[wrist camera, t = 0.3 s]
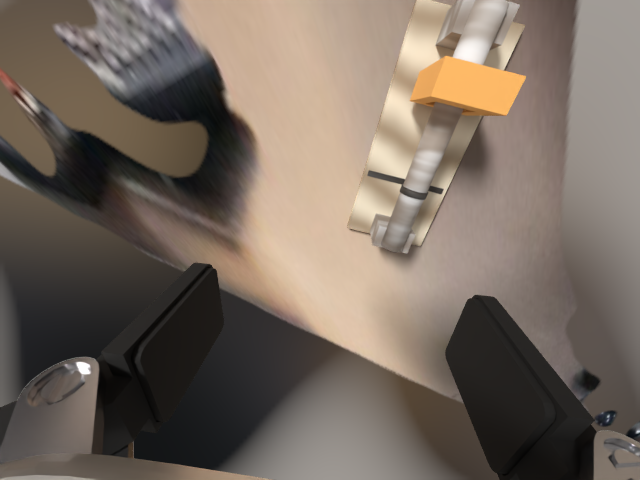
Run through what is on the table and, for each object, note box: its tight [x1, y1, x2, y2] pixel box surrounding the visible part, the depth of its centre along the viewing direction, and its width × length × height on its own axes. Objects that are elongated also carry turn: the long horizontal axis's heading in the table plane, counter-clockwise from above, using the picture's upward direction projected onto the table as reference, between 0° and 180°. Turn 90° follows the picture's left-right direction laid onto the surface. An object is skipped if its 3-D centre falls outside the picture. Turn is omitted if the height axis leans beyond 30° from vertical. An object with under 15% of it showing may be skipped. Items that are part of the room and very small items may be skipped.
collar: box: [410, 56, 526, 116], centre depth 25 cm, size 3×7×8 cm, turn 77°
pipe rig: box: [347, 0, 525, 254], centre depth 31 cm, size 28×12×8 cm, turn 167°
